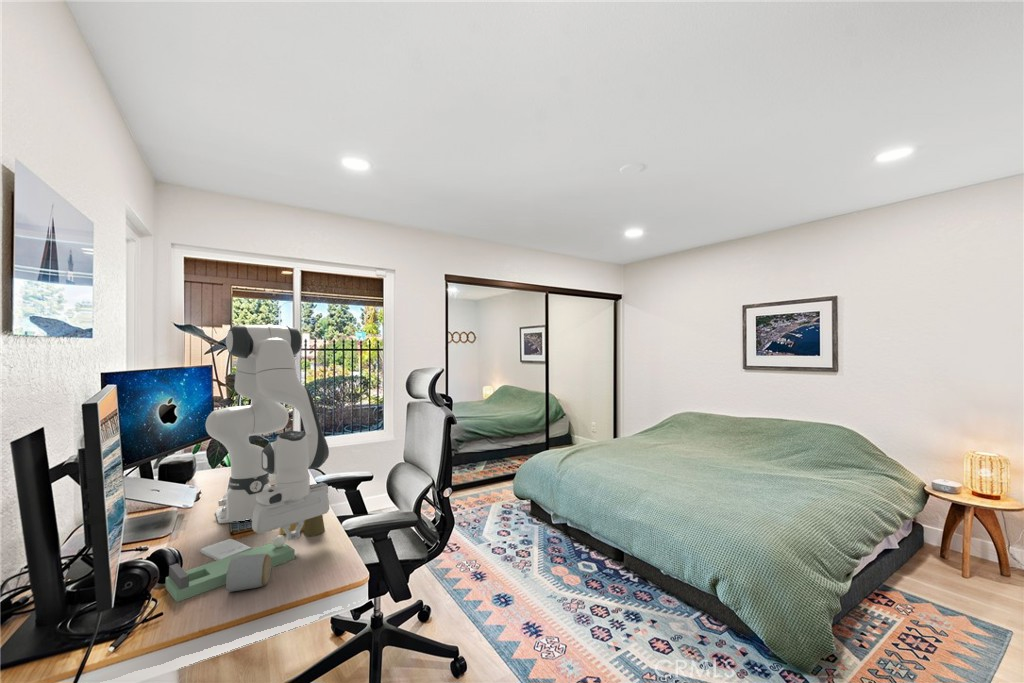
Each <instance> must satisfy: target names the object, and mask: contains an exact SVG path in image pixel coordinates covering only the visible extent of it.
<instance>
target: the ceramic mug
mask: <svg viewBox="0 0 1024 683" xmlns="http://www.w3.org/2000/svg"><path fill="white" fill-rule="evenodd" d="M271 570H272V567H271V557H270V555H268V554H254V555H238V556H233V557H232V559H231V561H230V563H229V566H228V570H227V577H226V584H225V588H226V591H227V593H233V592H237V591H243V590H250V589H256V588H257V589H258V588H260V587H264V586H266V584H267V583H268V582H269V580H270V575H271Z"/></svg>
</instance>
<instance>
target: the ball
mask: <svg viewBox="0 0 1024 683" xmlns="http://www.w3.org/2000/svg"><path fill="white" fill-rule="evenodd" d="M286 541H287V538H286V537H285V536H284V534H283V535H280V534H279V535H278V534H277V535H276V536H274V538H273V539H272V542H273V546H274V547H276V548H280V547H282V546H283V545H284V544H286Z"/></svg>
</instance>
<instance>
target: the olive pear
mask: <svg viewBox="0 0 1024 683" xmlns="http://www.w3.org/2000/svg"><path fill="white" fill-rule="evenodd" d="M323 515H324V514H323ZM323 515H320V516H316V517H313V518H310V519H307V520H305V529H304V530H303V531H304V532H303V535H304V536H306V537H314V536H317V535H321V534H323V533H324V532H326V530H325V522H324V516H323Z"/></svg>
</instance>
